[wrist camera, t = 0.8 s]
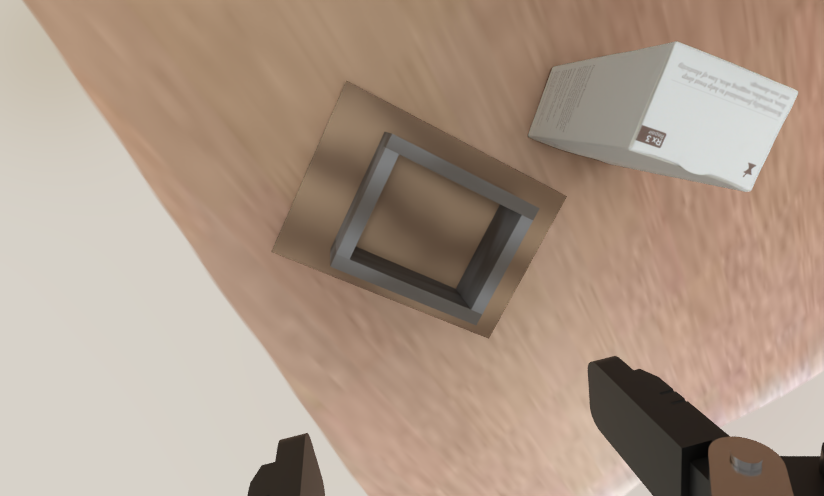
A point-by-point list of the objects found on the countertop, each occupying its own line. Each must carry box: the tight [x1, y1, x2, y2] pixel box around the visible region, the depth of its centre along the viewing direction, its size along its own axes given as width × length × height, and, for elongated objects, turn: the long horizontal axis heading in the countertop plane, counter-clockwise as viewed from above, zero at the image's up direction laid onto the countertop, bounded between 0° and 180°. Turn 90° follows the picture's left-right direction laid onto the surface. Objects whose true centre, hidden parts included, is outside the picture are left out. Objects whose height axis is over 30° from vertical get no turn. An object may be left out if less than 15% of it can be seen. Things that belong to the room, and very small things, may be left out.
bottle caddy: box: [272, 81, 567, 338], centre depth 35 cm, size 14×20×6 cm
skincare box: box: [528, 41, 798, 192], centre depth 31 cm, size 8×6×15 cm
